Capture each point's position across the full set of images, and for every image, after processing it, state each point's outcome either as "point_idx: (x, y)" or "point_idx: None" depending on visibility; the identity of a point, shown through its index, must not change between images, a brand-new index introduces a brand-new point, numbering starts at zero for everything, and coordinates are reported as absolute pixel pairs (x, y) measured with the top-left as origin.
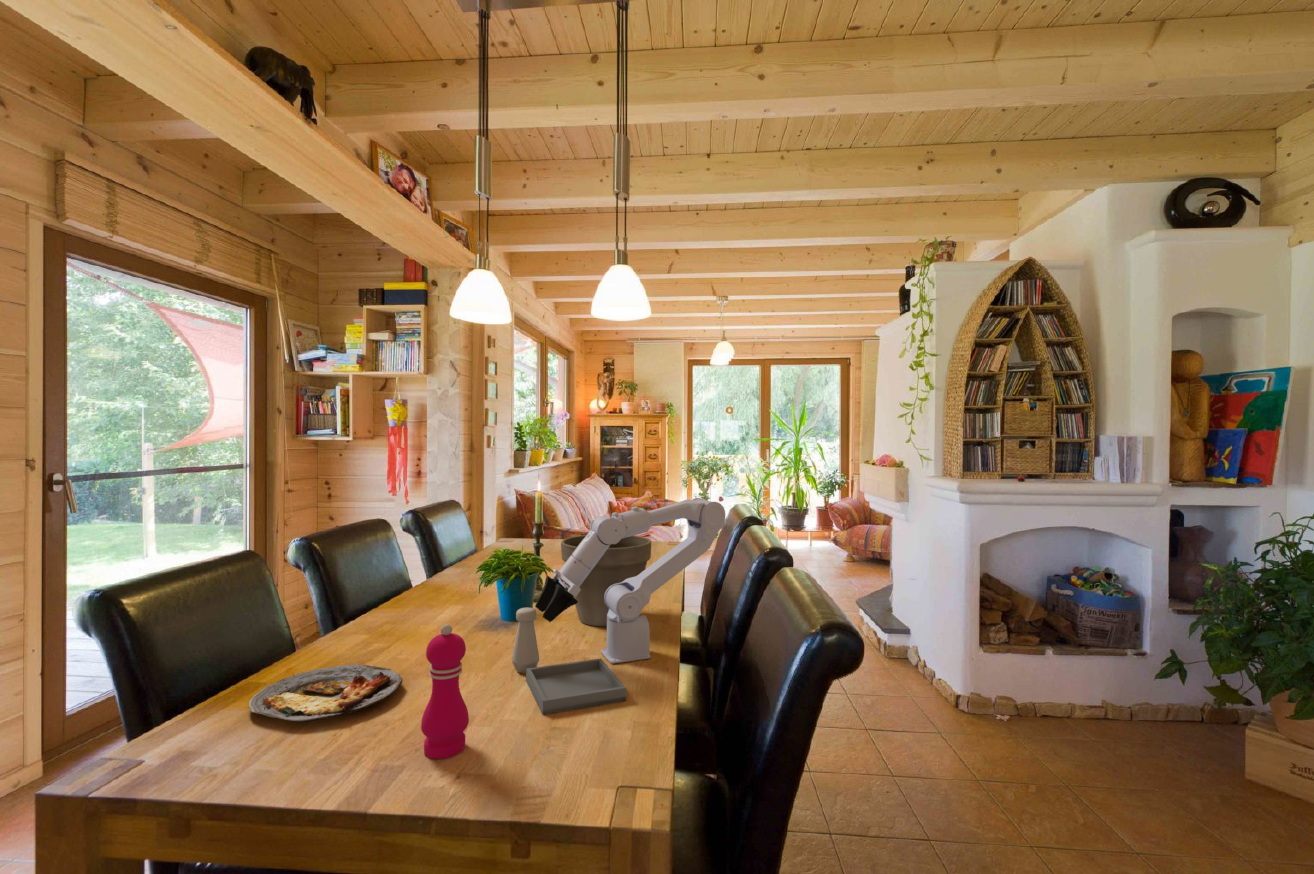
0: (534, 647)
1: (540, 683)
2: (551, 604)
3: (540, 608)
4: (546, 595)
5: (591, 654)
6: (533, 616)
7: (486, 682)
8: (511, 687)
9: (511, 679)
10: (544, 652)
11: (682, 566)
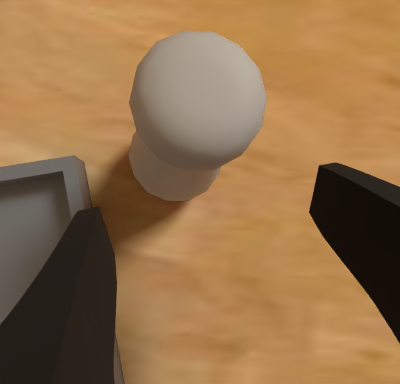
0: (150, 179)
1: (18, 203)
2: (21, 300)
3: (318, 198)
4: (396, 246)
5: (264, 369)
6: (150, 148)
7: (95, 50)
8: (42, 119)
9: (104, 120)
10: (301, 220)
11: None
